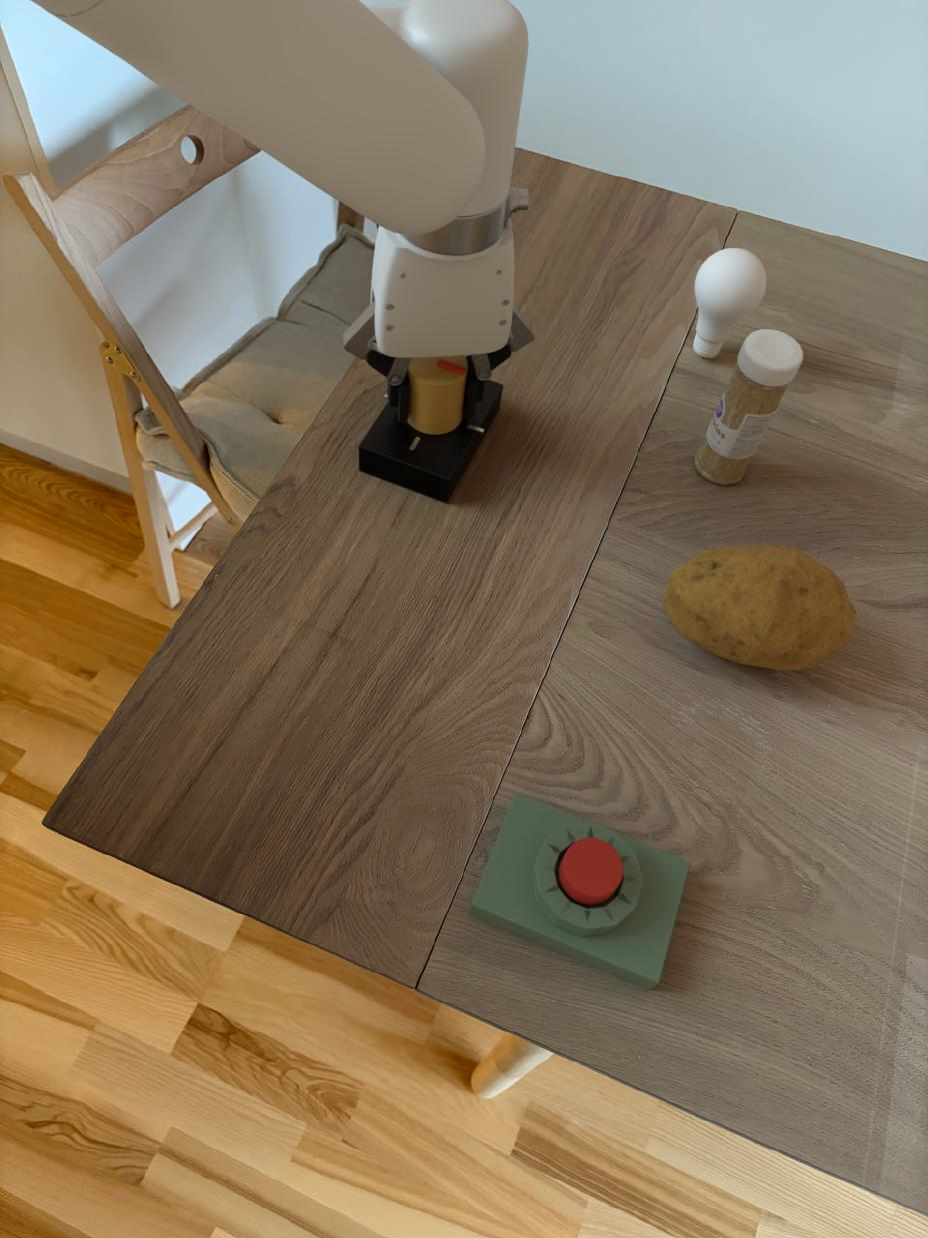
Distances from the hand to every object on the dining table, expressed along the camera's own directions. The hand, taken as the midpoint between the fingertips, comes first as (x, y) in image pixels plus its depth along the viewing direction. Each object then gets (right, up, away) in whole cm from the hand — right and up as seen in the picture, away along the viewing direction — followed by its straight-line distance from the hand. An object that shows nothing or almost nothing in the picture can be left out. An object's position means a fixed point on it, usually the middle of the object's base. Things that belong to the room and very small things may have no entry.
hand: (434, 406), depth 77 cm
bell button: (+10, -33, -20) cm, 40 cm away
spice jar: (+25, -4, +5) cm, 25 cm away
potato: (+24, -19, -5) cm, 31 cm away
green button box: (+10, -35, -17) cm, 40 cm away
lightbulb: (+25, +8, +12) cm, 29 cm away
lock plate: (0, -2, +3) cm, 4 cm away
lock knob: (0, 0, +1) cm, 1 cm away
